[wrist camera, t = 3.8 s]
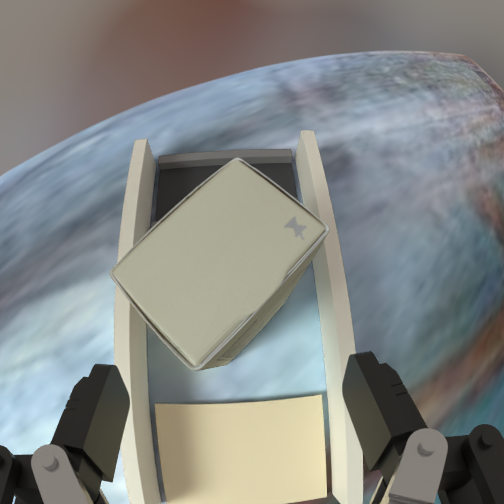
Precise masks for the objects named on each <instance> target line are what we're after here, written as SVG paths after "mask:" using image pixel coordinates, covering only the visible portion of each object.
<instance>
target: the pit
mask: <svg viewBox="0 0 504 504" xmlns="http://www.w3.org/2000/svg"><path fill="white" fill-rule="evenodd" d="M234 158H241V159H242V160H244V161H245V162H247V163H248V164H249V165H251V166H252V167H254V168H256V169H257V170H259V171H260V172H261V173H263V174H264V175H266V176H267V177H268V178H270V179H271V180H272V181H274V182H275V183H276V184H278V185H279V186H280V187H281V188H283V189H284V190H285V191H286V192H288V193H289V194H290V195H292V196H293V197H294V198H295V199H297V195H296V189H295V183H294V177H293V171H292V166H291V161H292V151H291V149H254V150H229V151H211V152H197V153H185V154H173V155H163V156H159V159H158V165H159V168H160V176H159V186H158V196H157V208H156V220H155V222H152V227H153V226H154V225H155V224H156V223H157V222H158V221H159V220H161V219H162V218H163V217H164V216H165V215H166V214H167V213H168V212H169V211H170V210H171V209H172V208H174V207H175V206H176V205H177V204H178V203H179V202H180V201H182V200H183V199H184V198H185V197H186V196H187V195H188V194H189V193H191V192H192V191H193V190H194V189H195V188H196V187H197V186H199V185H200V184H201V183H202V182H204V181H205V180H206V179H207V178H209V177H210V176H211V175H212V174H214V173H215V172H216V171H218V170H219V169H220V168H221V167H223V166H224V165H226V164H227V163H229V162H230V161H231V160H233V159H234Z"/></svg>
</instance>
